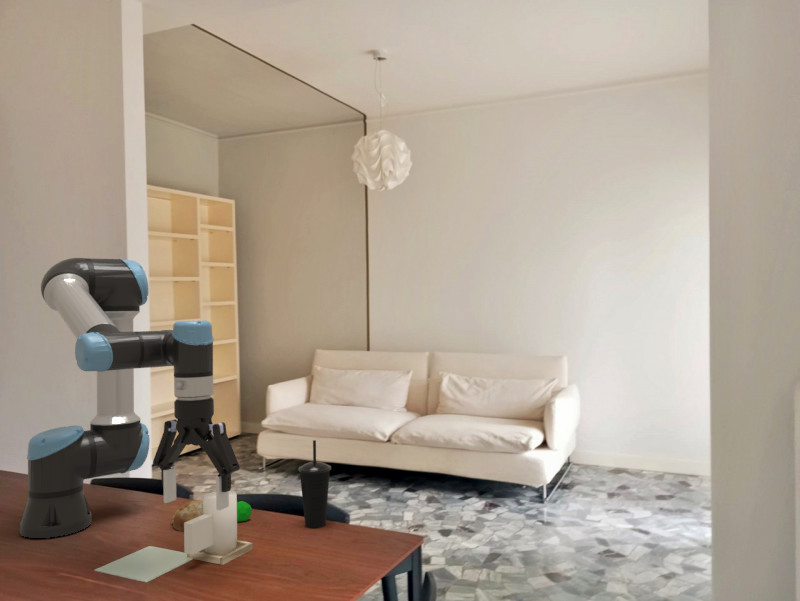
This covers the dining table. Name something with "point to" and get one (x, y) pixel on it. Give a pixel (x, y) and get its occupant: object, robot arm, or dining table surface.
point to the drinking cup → (314, 491)
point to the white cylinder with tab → (213, 528)
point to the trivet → (146, 564)
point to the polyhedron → (243, 511)
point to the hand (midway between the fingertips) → (195, 504)
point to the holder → (241, 549)
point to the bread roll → (187, 513)
